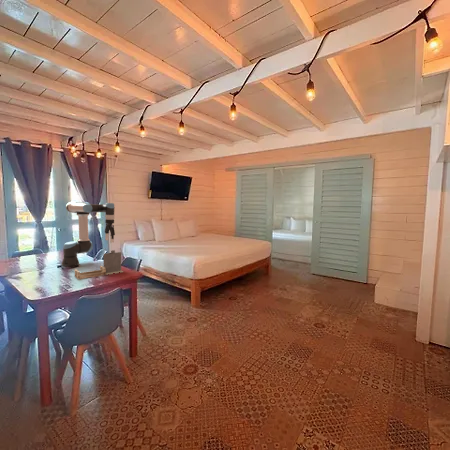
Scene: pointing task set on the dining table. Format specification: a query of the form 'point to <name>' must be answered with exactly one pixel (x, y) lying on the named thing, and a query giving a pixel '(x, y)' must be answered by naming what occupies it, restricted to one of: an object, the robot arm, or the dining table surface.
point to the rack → (90, 273)
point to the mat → (113, 272)
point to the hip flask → (112, 261)
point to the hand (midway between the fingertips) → (109, 241)
